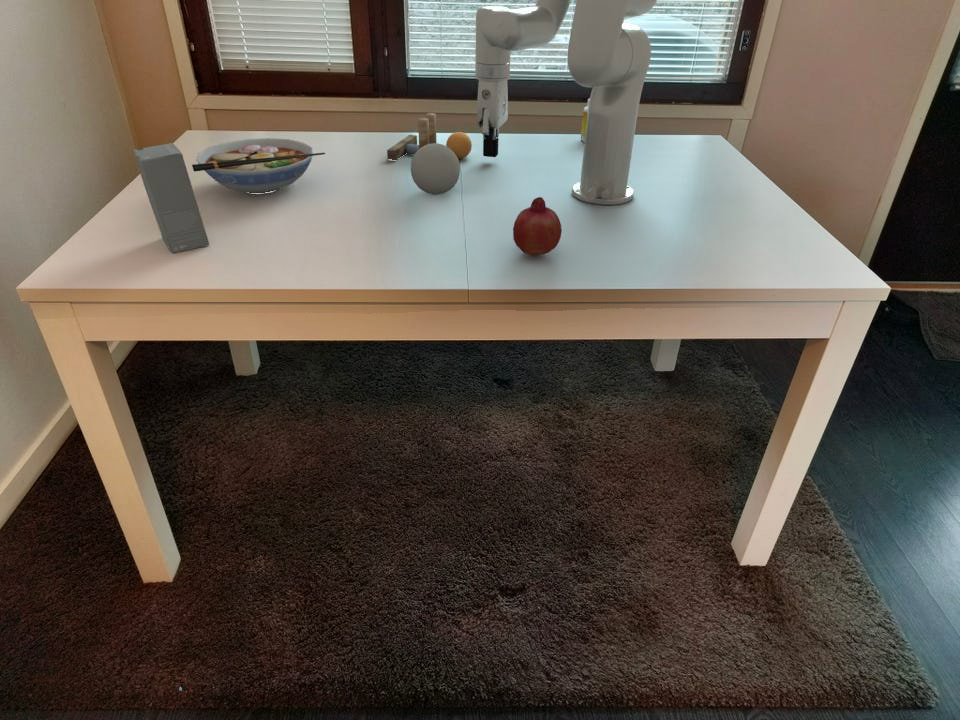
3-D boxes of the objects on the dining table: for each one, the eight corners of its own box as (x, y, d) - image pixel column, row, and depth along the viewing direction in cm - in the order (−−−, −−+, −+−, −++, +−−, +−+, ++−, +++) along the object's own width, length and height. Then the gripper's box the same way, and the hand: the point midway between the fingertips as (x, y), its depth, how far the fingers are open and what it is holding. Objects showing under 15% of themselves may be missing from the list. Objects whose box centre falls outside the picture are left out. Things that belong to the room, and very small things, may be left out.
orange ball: (440, 135, 149) (444, 161, 151) (465, 133, 147) (468, 160, 149) (450, 130, 154) (453, 156, 156) (473, 129, 152) (476, 155, 154)
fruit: (557, 267, 105) (563, 208, 100) (508, 262, 106) (511, 204, 101) (560, 246, 112) (565, 190, 106) (514, 243, 113) (517, 187, 107)
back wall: (395, 161, 150) (395, 151, 149) (387, 160, 151) (387, 150, 149) (417, 145, 161) (416, 135, 160) (409, 144, 162) (409, 134, 161)
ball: (448, 182, 139) (447, 135, 133) (468, 197, 131) (468, 147, 126) (404, 189, 135) (402, 140, 129) (422, 204, 128) (420, 154, 122)
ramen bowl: (309, 166, 147) (304, 129, 142) (336, 198, 130) (331, 157, 125) (193, 180, 138) (183, 141, 133) (205, 216, 121) (194, 173, 116)
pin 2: (434, 154, 155) (433, 115, 150) (425, 153, 156) (424, 115, 151) (438, 151, 157) (437, 113, 152) (428, 151, 158) (427, 112, 153)
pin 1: (427, 160, 151) (426, 121, 146) (418, 159, 152) (416, 120, 147) (431, 157, 153) (429, 118, 148) (421, 156, 154) (420, 117, 149)
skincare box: (210, 246, 110) (188, 153, 101) (166, 255, 107) (139, 159, 98) (199, 229, 116) (177, 140, 107) (156, 238, 112) (130, 146, 104)
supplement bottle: (593, 145, 164) (598, 103, 158) (576, 140, 167) (580, 99, 162) (606, 141, 168) (611, 99, 162) (588, 136, 171) (593, 96, 165)
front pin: (440, 150, 151) (405, 146, 154) (441, 159, 153) (406, 156, 155) (444, 145, 153) (409, 142, 155) (445, 155, 155) (410, 151, 157)
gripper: (500, 78, 133) (497, 166, 144) (517, 66, 145) (513, 148, 155) (465, 76, 135) (465, 163, 145) (485, 64, 147) (483, 145, 157)
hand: (490, 155), depth 150 cm, fingers closed
